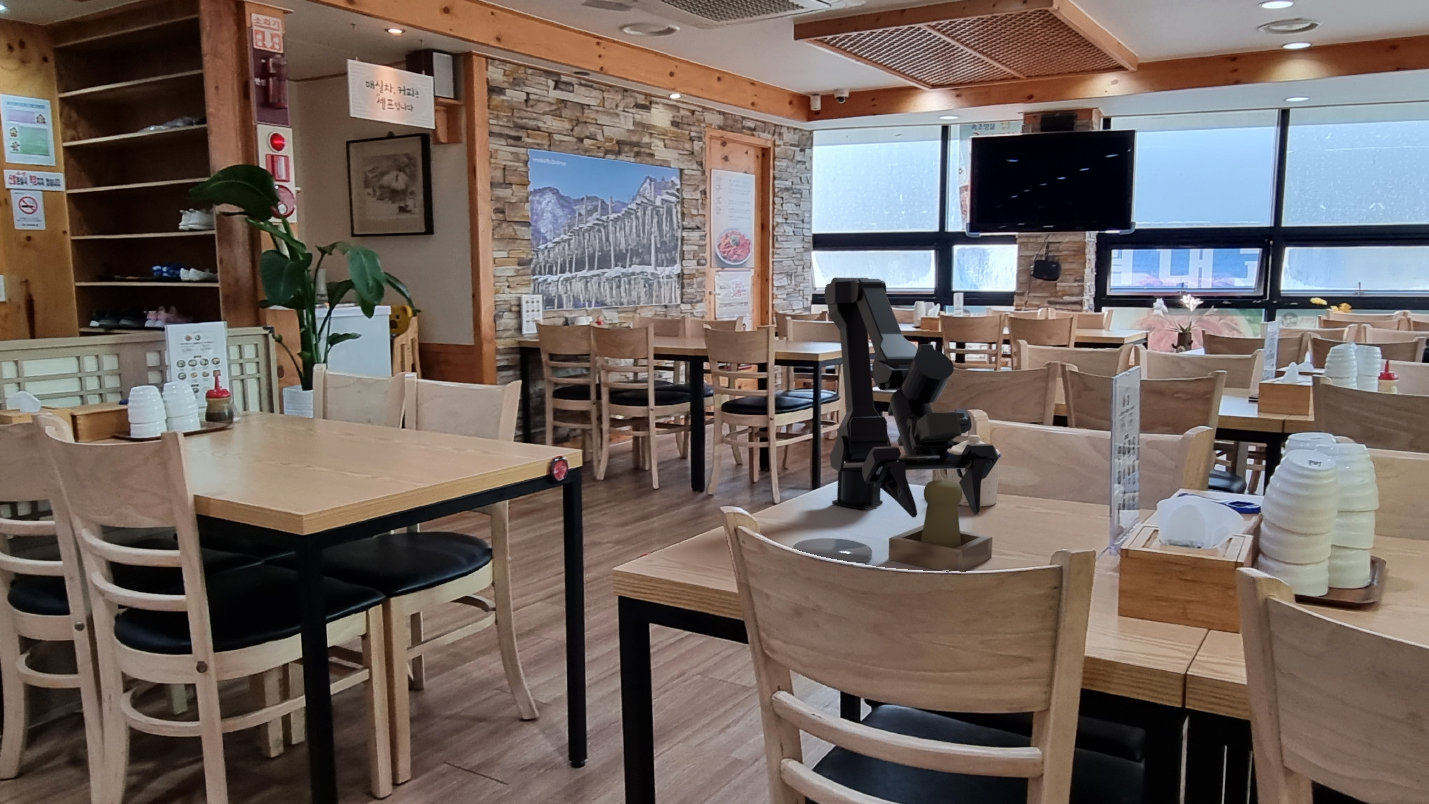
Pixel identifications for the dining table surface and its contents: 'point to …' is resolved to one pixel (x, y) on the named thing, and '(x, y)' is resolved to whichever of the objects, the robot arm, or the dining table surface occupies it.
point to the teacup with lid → (987, 484)
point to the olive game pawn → (942, 514)
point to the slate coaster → (836, 549)
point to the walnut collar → (940, 551)
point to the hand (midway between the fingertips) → (946, 514)
